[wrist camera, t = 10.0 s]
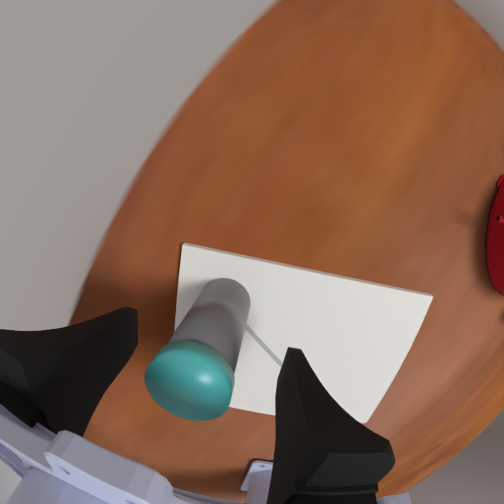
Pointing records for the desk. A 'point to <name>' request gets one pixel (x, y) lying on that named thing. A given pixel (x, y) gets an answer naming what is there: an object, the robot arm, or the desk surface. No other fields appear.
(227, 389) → the marker
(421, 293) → the notepad
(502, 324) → the desk surface
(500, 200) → the alarm clock
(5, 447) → the robot arm
